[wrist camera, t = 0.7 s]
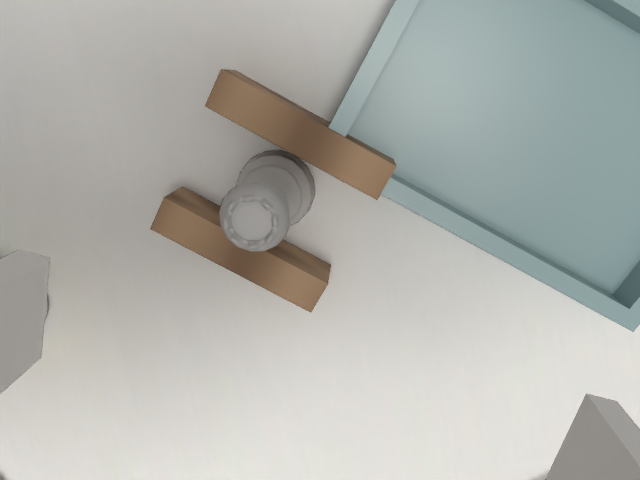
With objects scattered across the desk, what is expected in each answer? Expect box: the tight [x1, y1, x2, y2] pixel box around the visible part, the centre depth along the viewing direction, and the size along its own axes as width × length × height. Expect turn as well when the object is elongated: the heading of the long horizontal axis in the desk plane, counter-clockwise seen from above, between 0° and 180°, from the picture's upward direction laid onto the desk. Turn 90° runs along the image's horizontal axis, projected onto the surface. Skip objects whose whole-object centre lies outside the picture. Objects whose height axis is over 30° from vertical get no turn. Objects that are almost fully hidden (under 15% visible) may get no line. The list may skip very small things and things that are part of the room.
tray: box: [328, 0, 640, 332], centre depth 27 cm, size 20×14×3 cm
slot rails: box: [150, 69, 397, 312], centre depth 29 cm, size 10×9×3 cm
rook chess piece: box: [219, 150, 315, 252], centre depth 27 cm, size 4×4×8 cm
